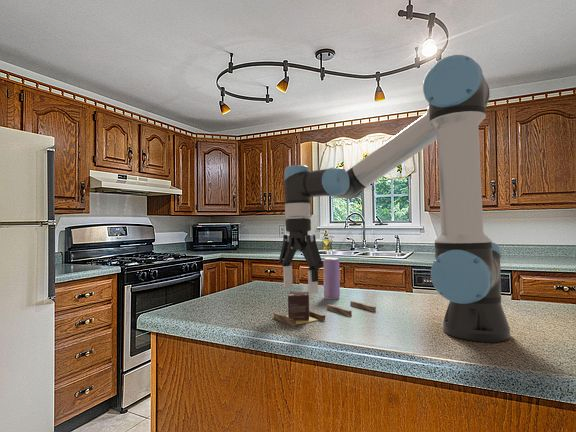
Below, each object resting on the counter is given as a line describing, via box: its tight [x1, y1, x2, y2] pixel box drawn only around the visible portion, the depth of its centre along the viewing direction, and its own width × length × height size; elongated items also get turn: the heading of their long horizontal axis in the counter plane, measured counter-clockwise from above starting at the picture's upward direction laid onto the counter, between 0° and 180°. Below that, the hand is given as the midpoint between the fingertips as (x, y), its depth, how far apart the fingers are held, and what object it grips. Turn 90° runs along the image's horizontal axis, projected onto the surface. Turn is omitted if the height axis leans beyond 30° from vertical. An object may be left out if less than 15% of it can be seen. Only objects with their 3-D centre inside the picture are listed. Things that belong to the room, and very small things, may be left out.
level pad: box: [286, 315, 319, 326], centre depth 109 cm, size 9×8×1 cm
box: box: [287, 291, 310, 320], centre depth 109 cm, size 6×6×7 cm
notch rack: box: [273, 300, 377, 327], centre depth 114 cm, size 11×31×2 cm, turn 121°
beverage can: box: [322, 257, 341, 300], centre depth 139 cm, size 6×6×15 cm
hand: (300, 290), depth 108 cm, fingers open, 13 cm apart
